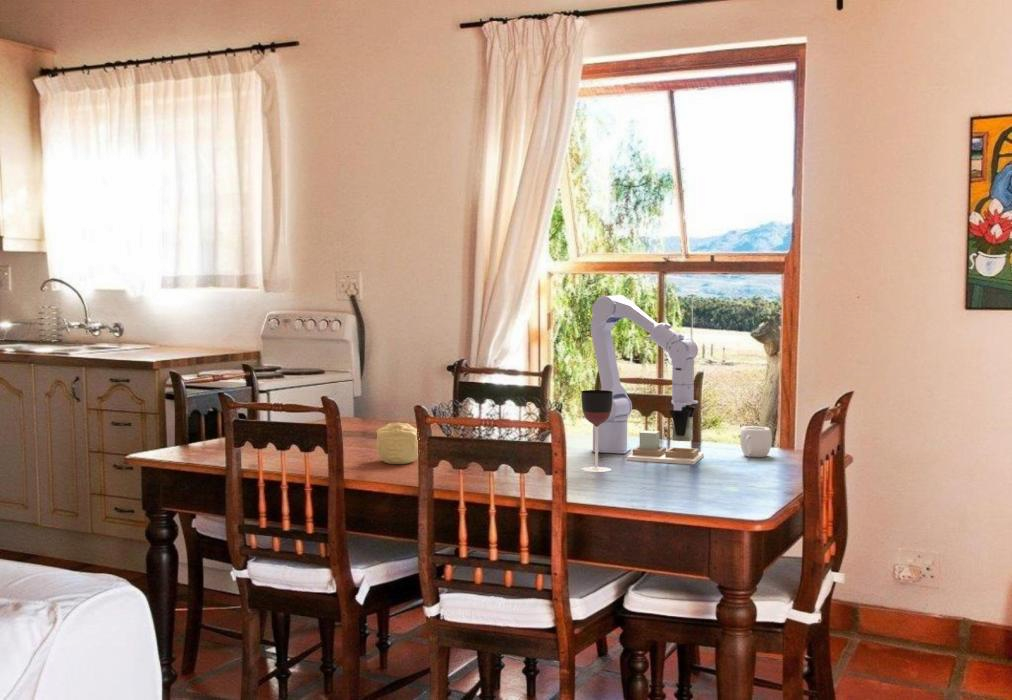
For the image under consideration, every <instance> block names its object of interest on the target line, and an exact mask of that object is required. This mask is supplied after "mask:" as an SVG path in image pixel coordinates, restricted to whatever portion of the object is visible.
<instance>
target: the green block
mask: <svg viewBox="0 0 1012 700" xmlns="http://www.w3.org/2000/svg"><path fill="white" fill-rule="evenodd" d="M693 419H694V417H693V416H692V417H688V421H687V426H686V432H685V436H677V435H676V431H675V426H674V421H673V420H672V441H676V442H677V441H678V442H691V441H692V440H693V437H694V436H693V435H694V433H693V431H694V429H693V428H694V426H693V425H694V422H693V421H694V420H693Z"/></svg>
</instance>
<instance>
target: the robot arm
mask: <svg viewBox="0 0 1012 700" xmlns="http://www.w3.org/2000/svg"><path fill="white" fill-rule="evenodd" d="M591 307H592V317H591V322H590V332H591V337H592V342H593V343H592V345H593V348H594V353H595V359H596V365H597V370H598V374H599V375H598V376H599V381H600V386H601V389H600V390H607V391H612V392H613V399H612V409H611V413H610V416H609V418H608V419H607V420H606V421H605V422H604V423H602V424H600V425H599V426H598V453H608V454H626V453H628V452H630V451H631V450H632V448H631V447H628V420H629V418H628V417H629V415H630V414H631V413H632V410H633V403H632V400H631V399H630V398H629V396H628V392H627V390H626V388H625V387H624V386H623V385H622V384H621V383H622V382H621V380H620V374H619V373H620V372H619V368H618V364H617V357H616V353H615V347H614V342H613V341H614V340H613V336H612V331H611V330H612V329H613V328H614V327H615V325H616V324H617V323H618V322H619V321H621V320H622V319H628V320H629V321H631V322H632V323H634V324H636V325H637V326H638V327H640V328H641V329H642V330H645V332H648V333H649V337H650V340H651V341H652V342H654V343H655V344H656V345H658V346H659V347H661V348H662V349H663V350H664V351H666V352H667V353H668V356H669V358H670V359H671V364H672V368H671V369H672V375H671V377H672V379H671V380H672V384H671V385H672V387H671V391H672V393H671V402H670V403H671V404H672V405H673V408H670V409H669V414H670V416H671V418H672V422H673V421H674V426H675V431H676V435H677V436H685V432H686V426H687V421H688V417H693V415H694V413H695V411H696V410H697V409H696V408H697V407H696V406H695V405H696V404H698V403H699V401H698V400H694V396H695V395H694V394H695V393H694V392H695V390H694V389H695V386H694V385H695V382H694V381H695V378H694V377H695V358H696V357H697V355H698V354H699V353H698V352H699V348H698V345H697V344H696V342H695V341H694V340H693V339H691V338H684V337H685V335H684V334H682V333H678V332H677V331H676V330H674V329H673V328H671V327H672V325H671V324H670V323H664V322H660V323H658V322H656V321H655V320H654V319H653V318H652V317H650V316H649V315H648V314H647V313H645V312H644V311H643V310H642V309H641V308H640V307H638V306H637V305H636V304H635V303H634V301H632V300H630V299H628V298H627V297H626V296H625V295H601V296H599V297H598V298H597V299H596V300H595V302H594V303H593V304H592V306H591ZM694 404H695V405H694ZM692 405H693V406H692ZM592 425H593V424H592ZM591 452H593V453H595V425H593V427H592V450H591Z"/></svg>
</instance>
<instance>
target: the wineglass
mask: <svg viewBox="0 0 1012 700" xmlns="http://www.w3.org/2000/svg"><path fill="white" fill-rule="evenodd" d="M580 398H581V409H582V413H583V416H584V418H585V420H587V421H588V422H589V423H591V424H592V425H595V452H594V466H587V467H582V468H581V470H582V471H584V472H591V473H603V472H605V473H606V472H610V471H612V469H611V468H609V467H605V466H599V452H598V426H599V425H600V424H602V423H604V422H605V421H606V420H607V419H608V418H609V416H610V413H611V409H612V399H613V392H612V391H607V390H601V389H587V390H586V389H585V390H582V391H580Z"/></svg>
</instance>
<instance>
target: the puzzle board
mask: <svg viewBox="0 0 1012 700" xmlns="http://www.w3.org/2000/svg"><path fill="white" fill-rule="evenodd" d="M660 436H661V435H660V430H641V431H639V445H637V446H636V447H635V448H633V449H632V453H631V454H629V455H627V456H626V461H633V462H634V461H635V462H649V463H661V464H663V463H665V464H680V465H695V464H696V463H698V462H699V460H701V459H702V458H703V457H704V452H700V449H699V448H691V447H690V448H688V447H677V446H676V447H675V446H671V447H669V448H668V449H667V447H666V446H660V439H661V437H660Z"/></svg>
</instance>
